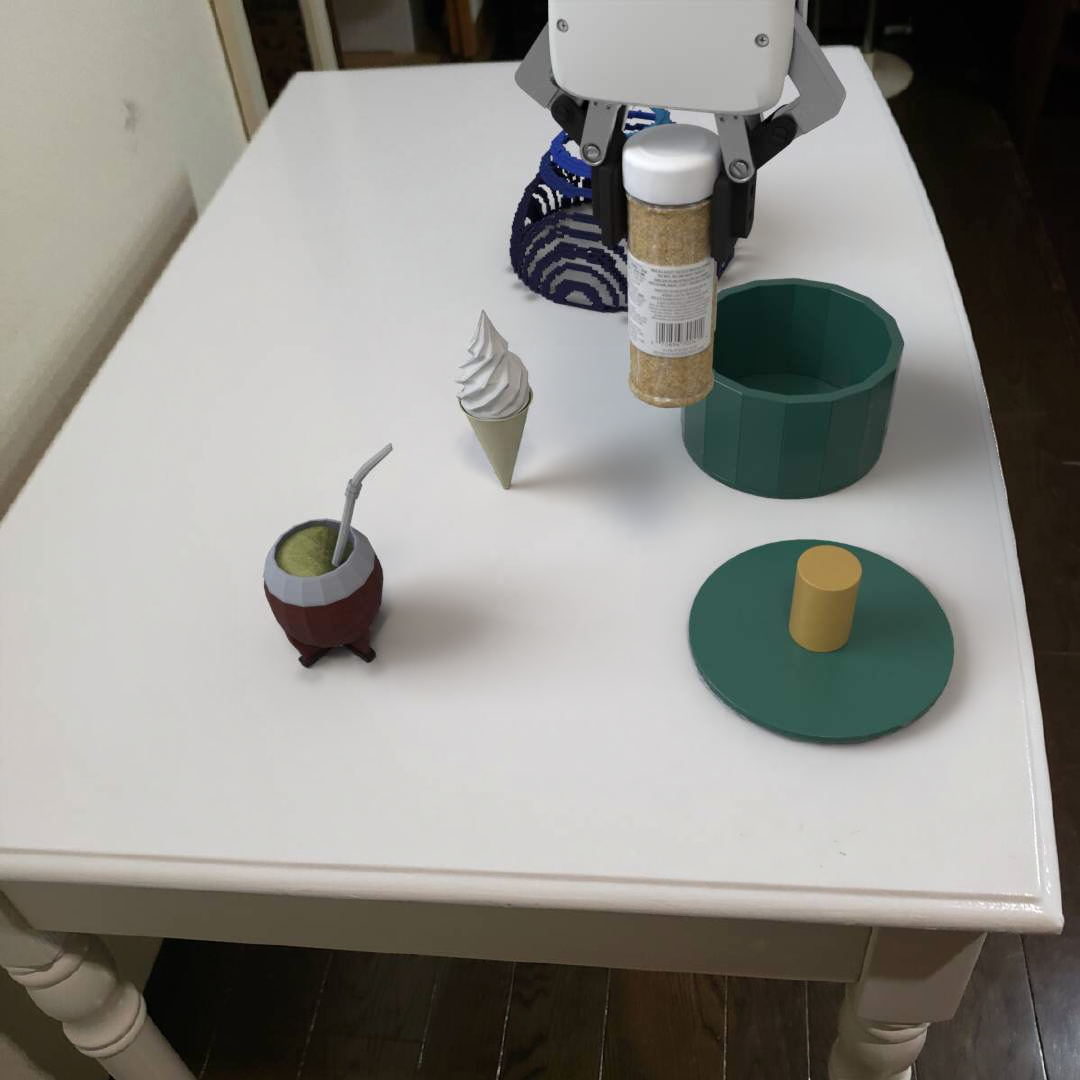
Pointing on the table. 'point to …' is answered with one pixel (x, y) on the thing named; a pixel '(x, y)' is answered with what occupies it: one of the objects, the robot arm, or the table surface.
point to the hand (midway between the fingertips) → (672, 236)
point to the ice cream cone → (495, 397)
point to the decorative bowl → (565, 250)
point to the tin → (795, 389)
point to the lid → (821, 641)
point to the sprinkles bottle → (671, 262)
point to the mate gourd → (327, 581)
